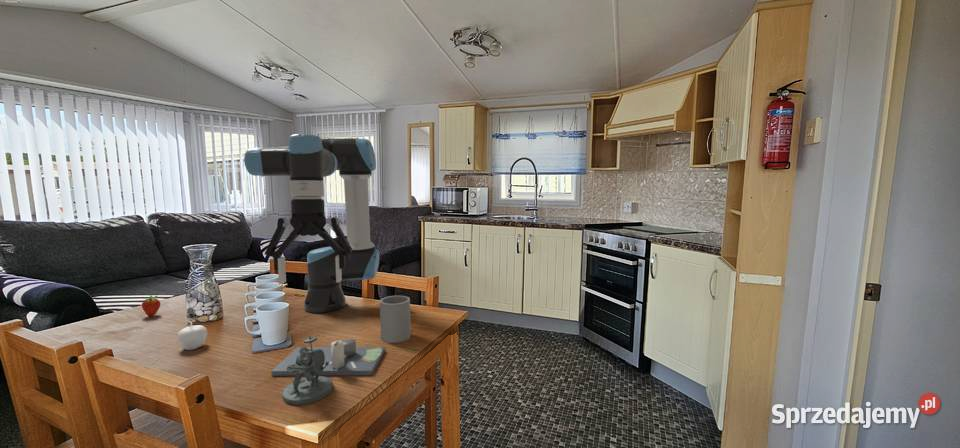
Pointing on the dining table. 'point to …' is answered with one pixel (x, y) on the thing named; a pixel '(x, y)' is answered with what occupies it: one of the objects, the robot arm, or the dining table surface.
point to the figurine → (307, 377)
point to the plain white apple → (192, 336)
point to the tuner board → (354, 365)
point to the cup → (395, 319)
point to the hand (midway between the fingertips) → (311, 282)
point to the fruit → (151, 305)
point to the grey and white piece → (342, 351)
